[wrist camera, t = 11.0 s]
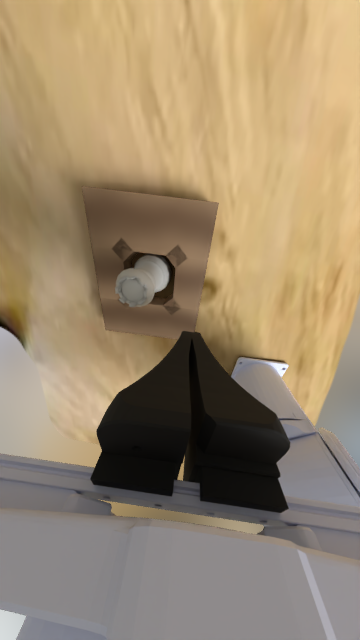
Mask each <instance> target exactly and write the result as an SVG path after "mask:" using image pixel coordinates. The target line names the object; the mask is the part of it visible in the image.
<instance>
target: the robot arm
mask: <svg viewBox="0 0 360 640" xmlns="http://www.w3.org/2000/svg"><path fill="white" fill-rule="evenodd" d="M239 362H241V363H239ZM287 368H288V364H287V363H283V362H275V361H267V360H260V359H252V358H245V357H240V358H238V360H237V362H236V365H235V367H234V370H233V372H232V375H231V376H230V375H229V374H228V373H227V372H226V371H225V370H224V369H223V368H222V366H221V365H220V364H219V363H218V361H217V360H216V359H215V357H214V356H213V355H212V353H211V352H210V350H209V348H208V347H207V345H206V343H205V342H204V340H203V338H202V336H201V334H200V333H197V332H189V331H182V332H181V335H180V337H179V339H178V341H177V342H176V344H175V345H174V347H173V348H172V349H171V351H170V352H169V353H168V354H167V356H166V357H165V358H164V359H163V360H162V361H161V362H160V363H159V364H158V365H157V366H155V367H154V368H153V369H152V370H151V371H150V372H148V373H147V374H146V375H144V376H143V377H142V378H140V379H139V380H138V381H136V382H135V383H133V384H132V385H130V386H128V387H127V388H125V389H123V390H122V391H120V392H119V393H118V394H117V396H116V397H115V398H114V400H113V401H112V403H111V404H110V406H109V407H108V409H107V411H106V412H105V414H104V416H103V418H102V421H101V423H100V425H99V427H98V429H97V437H98V440H99V443H100V446H101V449H102V452H101V455H100V457H99V459H98V462H97V464H96V466H95V468H94V467H87V466H80V465H74V464H67V463H60V462H53V461H47V460H40V459H33V458H27V457H20V456H13V455H7V454H0V609H1V610H5V611H10V612H14V613H18V614H22V615H26V619H25V621H24V623H23V625H22V628H21V630H20V632H19V634H18V637H17V639H16V640H360V468H359V467H358V465H357V464H356V463H355V461H354V460H353V459H352V457H351V456H350V454H349V453H348V452H347V450H346V449H345V448H344V446H343V445H342V444H341V442H340V441H339V440H338V438H337V437H336V436H335V435H334V434H333V433H332V432H330V431H326V430H325V429H324V428H320V429H318V430H319V432H320V434H321V435H322V437H323V438H324V440H325V441H324V440H323V438H322V437H321V435H320V434H319V432H318V431H317V430H316V428H315V427H314V426H313V424H312V423H311V421H310V420H309V419H308V417H307V416H306V414H305V413H304V411H303V410H302V408H301V407H300V405H299V404H298V402H297V401H296V399H295V397H294V396H293V394H292V393H291V391H290V390H289V388H288V387H287V385H286V384H285V382H284V381H283V379H282V378H281V377H282V376H283V374H284V373H285V371H286V369H287ZM325 442H326V443H325ZM327 445H328V446H327ZM184 456H185V460H184V475H183V481H180V480H177V478H178V474H179V470H180V467H181V464H182V463H183V459H184ZM97 499H99V500H97ZM100 500H105V501H112V502H118V503H125V504H131V505H138V506H144V507H152V508H158V509H165V510H171V511H178V512H184V513H191V514H197V515H204V516H210V517H217V518H223V519H229V520H236V521H242V522H249V523H256V524H262V525H263V526H264V529H263V531H261V532H260V533H258V534H250V533H245V532H240V531H235V530H229V529H224V528H218V527H212V526H206V525H199V524H193V523H185V522H177V521H169V520H159V519H149V518H137V517H123V516H116V515H114V514H113V513H112V512H111V508H112V507H111V504H110V503H107V502H104V501H100Z"/></svg>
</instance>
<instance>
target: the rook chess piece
mask: <svg viewBox="0 0 360 640" xmlns="http://www.w3.org/2000/svg"><path fill="white" fill-rule="evenodd" d="M170 280H171V269H170V266H169V264H168V262H167V261H166V260H165V258H163V257H161V256H160V255H158V254H150V253H149V254H146V255H143V256H142V257H140V258H139V260H138V261H137V262H136V263H135V266H134V269H133V268H129V269H126V270H123V271H122V272H121V273H120V274H119V275H118V277H117V280H116V287H115V292H116V294H117V293H118V294H119V296H120V299H119V300H120V301H121V302H122V303H123V304H124V303H125V302H126V303H127V304H129V307H141V306H145V305H147V304H148V303H150V302H151V301H152V299H153V297H154V293H155V292H159V291H162V290H163V289H164V288H165V287H166V286H167V285H168V284H169V282H170Z"/></svg>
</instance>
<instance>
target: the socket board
mask: <svg viewBox="0 0 360 640" xmlns="http://www.w3.org/2000/svg"><path fill="white" fill-rule="evenodd" d="M82 191H83V197H84V203H85V209H86V215H87V221H88V227H89V233H90V239H91V245H92V251H93V257H94V263H95V269H96V275H97V281H98V287H99V293H100V299H101V305H102V311H103V317H104V323H105V329H106V330H109V331H117V332H125V333H132V334H140V335H148V336H155V337H163V338H171V339H179V337H180V335H181V332H182V331H189V332H195V326H196V321H197V316H198V310H199V305H200V300H201V294H202V289H203V284H204V278H205V273H206V268H207V262H208V257H209V252H210V246H211V241H212V236H213V230H214V225H215V220H216V215H217V209H218V204H219V203H217V202H209V201H200V200H192V199H184V198H176V197H167V196H159V195H151V194H143V193H134V192H126V191H118V190H110V189H101V188H93V187H85V186H82ZM138 252H142V253H150V254H158V255H166V257H167V258H168V259H169V260H170V262H171V263H172V264H173V266H174V267H175V268H176V270H175V281H174V292H173V293H172V294H171V295H170V296H169V297H167V298H159V297H153V299H152V301H151V302H150V303H148V304H147V305H145V306H141V307H129V304H127V303H126V302H125V303H124V304H123V303H122V302H121V301H120V300H119V299H120V296H119V294H118V293H117V294H116V292H115V287H116V280H117V277H118V275H119V274H120V273H121V272H122V271H123V270H126V269H129V268H132V258H133V257H134V256H135V255H136V254H137V253H138Z"/></svg>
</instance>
